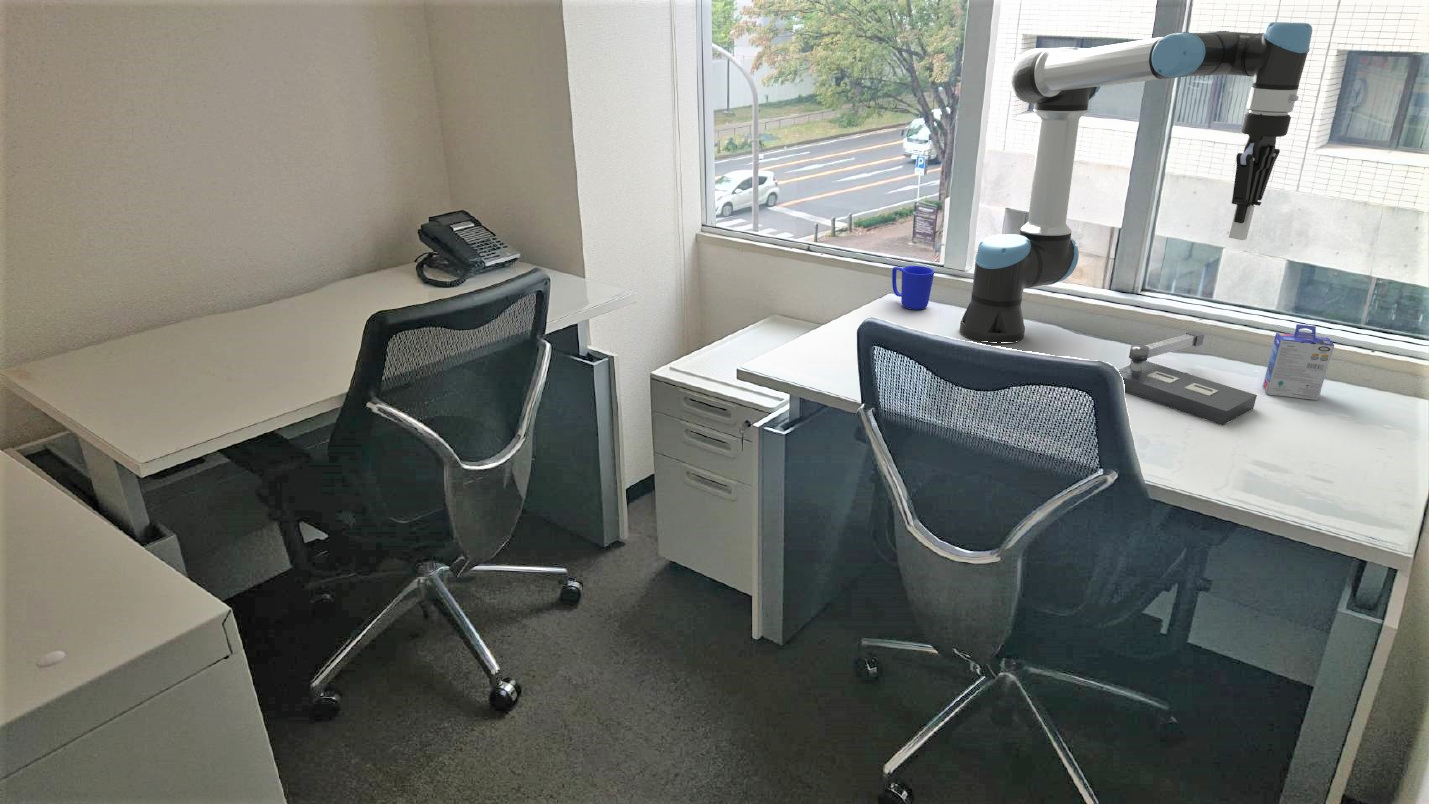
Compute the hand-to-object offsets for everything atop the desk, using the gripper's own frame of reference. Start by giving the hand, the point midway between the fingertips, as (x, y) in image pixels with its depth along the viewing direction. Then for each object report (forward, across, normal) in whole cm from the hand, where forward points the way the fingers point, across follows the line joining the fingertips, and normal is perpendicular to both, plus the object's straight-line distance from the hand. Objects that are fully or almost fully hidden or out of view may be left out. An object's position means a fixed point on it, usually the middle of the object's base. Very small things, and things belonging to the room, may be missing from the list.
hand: (1237, 238), depth 180 cm
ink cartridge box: (+33, +14, -12) cm, 37 cm away
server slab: (+32, -7, +1) cm, 33 cm away
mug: (+33, -5, +75) cm, 82 cm away
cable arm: (+27, +2, +10) cm, 29 cm away
